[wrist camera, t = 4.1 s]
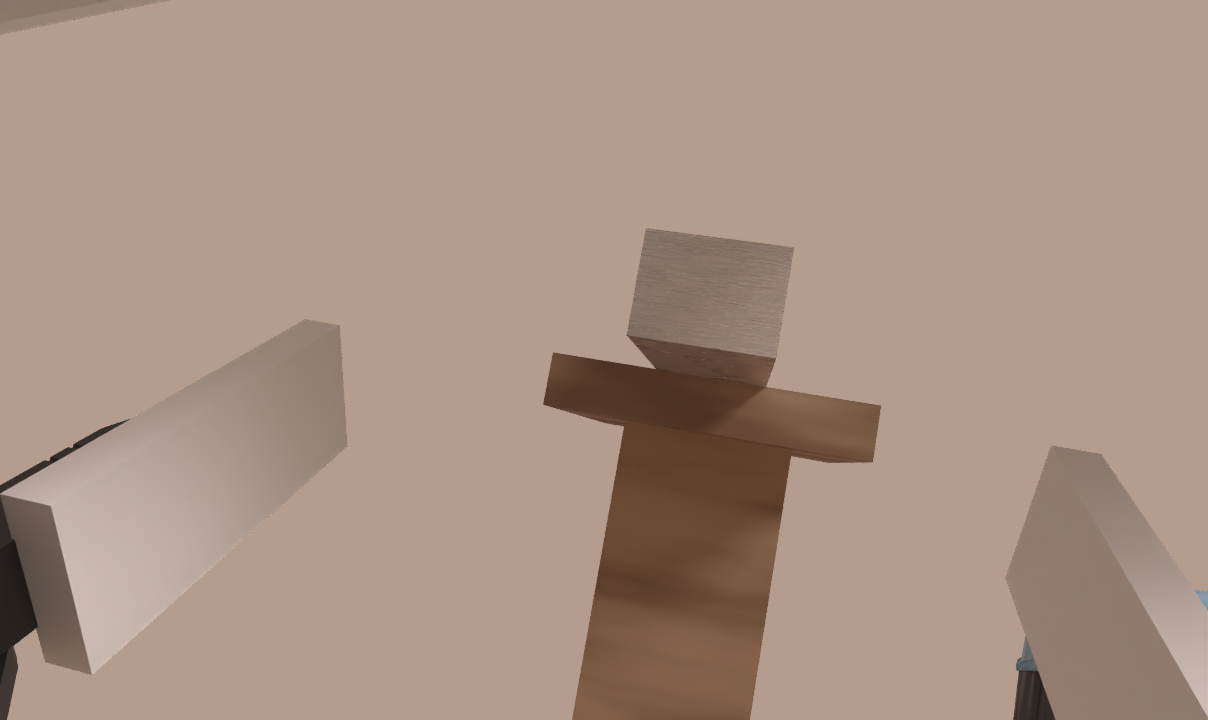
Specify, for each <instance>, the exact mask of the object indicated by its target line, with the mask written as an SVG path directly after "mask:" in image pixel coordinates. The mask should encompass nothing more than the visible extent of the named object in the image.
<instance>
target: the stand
mask: <svg viewBox="0 0 1208 720" xmlns="http://www.w3.org/2000/svg"><path fill="white" fill-rule="evenodd" d="M544 405H547V406H550V407H553V408H556V409H560V410H563V411H567V412H570V413H573V414H577V415H580V416H583V417H587V418H590V419H594V420H597V421H600V422H603V423H608V424H613V425H620V426H624V431H623V436H622V442H621V448H620V453H619V459H618V464H617V470H616V476H615V481H614V487H613V492H612V498H611V504H610V510H609V515H608V521H607V527H606V532H605V538H604V543H603V549H602V555H601V560H600V566H599V572H598V577H597V583H596V588H595V594H594V600H593V605H592V611H591V617H590V623H589V628H588V634H587V639H586V645H585V651H584V657H583V662H582V667H581V674H580V679H579V684H578V690H577V696H576V701H575V707H574V713H573V718H572V720H750V715H751V709H752V702H753V696H754V689H755V682H756V677H757V670H758V663H759V657H760V651H761V644H762V637H763V632H764V625H765V619H766V612H767V606H768V599H769V593H770V586H771V580H772V574H773V567H774V561H775V555H776V548H777V541H778V535H779V529H780V523H781V516H782V510H783V503H784V497H785V491H786V484H787V478H788V471H789V465H790V459H791V456H794V457H799V458H805V459H811V460H817V461H822V462H828V463H844V462H845V463H849V462H850V463H854V462H873V457H874V450H875V443H876V436H877V429H878V423H879V416H880V409H881V406H879V405H873V404H867V403H861V402H855V401H848V400H842V399H836V398H830V397H823V396H818V395H811V394H805V393H799V392H793V391H786V390H781V389H775V388H768V387H762V386H756V385H750V384H744V383H738V382H731V381H725V380H719V379H713V378H707V377H701V376H694V375H688V374H682V373H676V372H670V371H664V370H657V369H651V368H645V367H639V366H633V365H627V364H620V363H614V362H608V361H602V360H595V359H590V358H583V357H577V356H571V355H565V354H559V353H553V356H552V361H551V367H550V371H549V377H548V382H547V388H546V393H545V398H544Z"/></svg>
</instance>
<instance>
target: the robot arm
mask: <svg viewBox="0 0 1208 720" xmlns="http://www.w3.org/2000/svg"><path fill="white" fill-rule="evenodd" d="M163 1H168V0H0V35H2V34H6V33H11V32H16V31H21V30H26V29H31V28H36V27H41V26H45V25H51V24H55V23H60V22H65V21H70V20H75V19H80V18H85V17H90V16H95V15H100V14H105V13H109V12H114V11H119V10H124V9H129V8H134V7H139V6H144V5H148V4H154V3H158V2H163ZM346 447H347V435H346V419H345V403H344V388H343V372H342V356H341V340H340V326H339V325H334V324H328V323H322V322H316V321H310V320H303V321H302V322H300V323H298V324H296V325H295V326H293V327H291V328H289V329H288V330H286V331H284V332H282V333H281V334H279V335H277V336H275V337H274V338H272V339H270V340H268V341H267V342H265V343H263V344H261V345H260V346H258V347H256V348H254V349H253V350H251V351H249V352H247V353H246V354H244V355H242V356H240V357H239V358H237V359H235V360H233V361H232V362H230V363H228V364H227V365H225V366H223V367H221V368H219V369H218V370H216V371H214V372H212V373H211V374H209V375H207V376H205V377H203V378H202V379H200V380H198V381H197V382H195V383H193V384H191V385H189V386H188V387H186V388H184V389H183V390H181V391H179V392H177V393H175V394H174V395H172V396H171V397H168V398H167V399H165V400H163V401H162V402H160V403H158V404H156V405H154V406H153V407H151V408H149V409H148V410H146V411H144V412H142V413H140V414H139V415H137V416H135V417H133V418H132V419H129V420H126V421H123V422H120V423H117V424H113V425H110V426H107V427H104V428H102V429H100V430H98V431H96V432H94V433H93V434H91V435H89V436H88V437H85V438H84V439H82V440H80V441H78V442H77V443H75V444H74V445H73V448H69V447H68V448H66V449H64V450H62V451H61V452H59V453H57V454H55V455H53V456H52V457H51V458H50V461H43V462H41V463H39V464H37V465H36V466H34V467H32V468H30V469H28V470H27V471H25V472H23V473H21V474H19V475H18V476H16V477H14V478H13V479H11V480H9V481H7V482H5V483H3V484H2V485H0V720H7V717H8V712H9V707H10V703H11V698H12V693H13V688H14V684H15V679H16V674H17V670H18V664H17V657H16V653H15V650H14V647H13V646H14V645H15V644H16V643H18V642H19V641H20V640H21V639H23V638H24V637H25V636H27V635H28V634H29V633H30V632H32V631H33V630H34V629H35V628H36V630H37V633H38V637H39V640H40V644H41V648H42V652H43V655H44V659H45V662H47V663H51V664H54V665H58V666H62V667H65V668H69V669H72V670H76V671H80V672H83V673H87V674H90V675H93V674H94V673H95V672H96V671H97V670H98V669H99V668H100V667H102V666H103V665H104V664H105V663H106V662H107V661H108V660H109V659H110V658H112V657H113V656H114V655H115V654H116V653H117V652H118V651H119V650H121V649H122V648H123V647H124V646H125V645H126V644H127V643H128V642H130V641H131V640H132V639H133V638H134V637H135V636H136V635H137V634H139V633H140V632H141V631H142V630H143V629H144V628H145V627H146V626H147V625H148V624H150V623H151V622H152V621H153V620H154V619H155V618H156V617H157V616H159V615H160V614H161V613H162V612H163V611H164V610H165V609H166V608H168V607H169V606H170V605H171V604H172V603H173V602H174V601H175V600H176V599H178V598H179V597H180V596H181V595H182V594H183V593H184V592H185V591H186V590H188V589H189V588H190V587H191V586H192V585H193V584H194V583H195V582H197V581H198V580H199V579H200V578H201V577H202V576H203V575H204V574H205V573H207V572H208V571H209V570H210V569H211V568H212V567H213V566H214V565H215V564H217V563H218V562H219V561H220V560H221V559H222V558H223V557H224V556H226V555H227V554H228V553H229V552H230V551H231V550H232V549H233V548H234V547H236V546H237V545H238V544H239V543H240V542H241V541H242V540H243V539H245V538H246V537H247V536H248V535H249V534H250V533H251V532H252V531H253V530H255V529H256V528H257V527H258V526H259V525H260V524H261V523H262V522H263V521H265V520H266V519H267V518H268V517H269V516H270V515H271V514H272V513H274V512H275V511H276V510H277V509H278V508H279V507H280V506H281V505H282V504H284V503H285V502H286V501H287V500H288V499H289V498H290V497H291V496H293V495H294V494H295V493H296V492H297V491H298V490H299V489H300V488H301V487H303V486H304V485H305V484H306V483H307V482H308V481H309V480H310V479H311V478H313V477H314V476H315V475H316V474H317V473H318V472H319V471H320V470H321V469H323V468H324V467H325V466H326V465H327V464H328V463H329V462H330V461H332V459H334V458H335V457H336V456H337V455H338V454H339V453H340V452H342V451H343V450H344V449H345V448H346ZM1006 581H1007V584H1008V586H1009V589H1010V592H1011V595H1012V598H1013V601H1014V604H1015V606H1016V609H1017V612H1018V615H1019V618H1020V621H1021V623H1022V626H1023V629H1024V632H1025V635H1026V637H1025V642H1024V648H1023V653H1022V657H1021V658H1019V659H1018V660H1017V664H1016V670H1017V671H1019V676H1018V684H1017V693H1016V702H1015V710H1014V718H1013V720H1208V591H1202V590H1193V588H1192V587H1191V585H1190V584H1189V582H1188V581H1187V579H1186V578H1185V576H1184V575H1183V574H1182V572H1181V571H1180V569H1179V568H1178V566H1177V565H1176V563H1175V562H1174V560H1173V559H1172V557H1171V556H1170V555H1169V553H1168V552H1167V550H1166V549H1165V547H1164V546H1163V544H1162V543H1161V541H1160V540H1159V538H1158V537H1157V536H1156V534H1155V532H1154V531H1153V530H1152V528H1151V527H1150V525H1149V524H1148V522H1147V521H1146V519H1145V518H1144V516H1143V515H1142V514H1141V512H1140V510H1139V509H1138V508H1137V506H1136V505H1135V503H1134V502H1133V500H1132V499H1131V497H1130V496H1129V494H1128V493H1127V491H1126V490H1125V489H1124V487H1123V486H1122V484H1121V483H1120V482H1119V480H1118V478H1117V477H1116V475H1115V474H1114V473H1113V471H1112V469H1111V468H1110V467H1109V465H1108V464H1107V462H1106V461H1105V459H1104V458H1103V456H1102V455H1101V454H1098V453H1091V452H1086V451H1080V450H1074V449H1068V448H1062V447H1056V446H1051V448H1050V451H1049V453H1048V457H1047V459H1046V462H1045V465H1044V468H1043V471H1042V474H1041V477H1040V480H1039V482H1038V485H1037V488H1036V491H1035V494H1034V497H1033V500H1032V503H1031V506H1030V509H1029V511H1028V515H1027V517H1026V520H1025V523H1024V526H1023V529H1022V532H1021V535H1020V537H1019V540H1018V543H1017V546H1016V549H1015V552H1014V555H1013V558H1012V561H1011V564H1010V566H1009V569H1008V572H1007V575H1006Z"/></svg>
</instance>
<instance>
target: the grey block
mask: <svg viewBox="0 0 1208 720" xmlns="http://www.w3.org/2000/svg"><path fill="white" fill-rule="evenodd" d="M793 249H794V248H793V247H786V246H778V245H771V244H763V243H755V242H747V241H740V240H732V239H723V238H716V237H708V236H701V235H693V234H685V233H678V232H670V231H662V230H654V229H646V231H645V236H644V242H643V247H642V253H641V259H640V264H639V270H638V275H637V282H636V287H635V292H634V298H633V303H632V309H631V314H630V320H629V326H628V332H627V336H628V337H629V338H630V339H631V341H633V343H634V344H635V345H636V346H637V347H638V348H639V350H640V351H641V352H642V353H643V354H644V355H645V357H646V358H647V359H648V360H649V361H650V362H651V363H652V365H653V366H654V367H655V368H656V369H657V370H664V371H670V372H676V373H682V374H688V375H694V376H701V377H707V378H713V379H719V380H725V381H731V382H738V383H744V384H750V385H756V386H762V387H766V386H767V383H768V380H769V377H770V374H771V371H772V369H773V366H774V363H775V360H776V356H777V349H778V343H779V337H780V331H781V325H782V318H783V312H784V306H785V300H786V294H787V287H788V281H789V274H790V268H791V262H792V256H793Z"/></svg>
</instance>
